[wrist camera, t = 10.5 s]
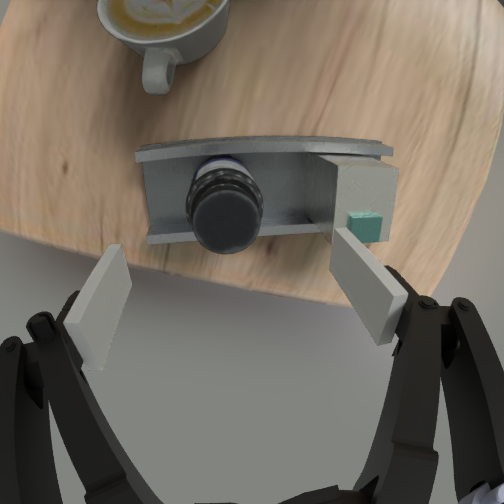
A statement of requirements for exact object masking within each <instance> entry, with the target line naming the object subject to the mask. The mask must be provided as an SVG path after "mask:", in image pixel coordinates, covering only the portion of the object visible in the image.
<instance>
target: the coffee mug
mask: <svg viewBox="0 0 504 504" xmlns="http://www.w3.org/2000/svg"><path fill="white" fill-rule="evenodd" d="M229 6H230V0H98V1H97V12H98V17H99V19H100V22H101V24H102V25H103V27H104V28H105V29H106V30H107V31H108V32H109V33H110V34H111V35H112V36H114V37H115V38H117V39H118V40H119V41H121V42H122V43H124V44H125V45H127V46H128V47H130V48H131V49H132V50H134V51H135V52H137V53H138V54H139V55H141V56H142V57H144V62H143V72H142V83H143V88H144V90H145V91H146V92H147V93H149V94H151V95H164V94H166V93H168V92H169V90H170V89H171V87H172V84H173V79H174V74H175V68H176V65H182V64H187V63H190V62H193V61H195V60H198V59H200V58H201V57H203V56H205V55H206V54H208V53H209V52H210V51H212V50H213V49H214V48H215V46H216V45H217V44H218V43H219V42H220V40H221V38H222V37H223V35H224V32H225V29H226V24H227V18H228V12H229Z"/></svg>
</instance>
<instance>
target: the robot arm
mask: <svg viewBox="0 0 504 504" xmlns="http://www.w3.org/2000/svg"><path fill="white" fill-rule="evenodd" d="M329 270H330V272H331V273H332V275H333V276H334V278H335V279H336V281H337V282H338V284H339V285H340V287H341V288H342V290H343V292H344V293H345V295H346V296H347V298H348V299H349V301H350V302H351V304H352V306H353V307H354V309H355V310H356V312H357V314H358V315H359V317H360V318H361V320H362V322H363V323H364V325H365V327H366V328H367V330H368V331H369V333H370V335H371V336H372V338H373V340H374V341H375V343H376V345H377V346H379V345H383V344H387V343H391V342H392V339H393V337H394V334H395V333H396V334H397V336H398V338H399V340H398V343H397V345H396V347H395V349H394V352H393V354H392V356H394V355H395V356H394V362H393V367H392V372H391V376H390V381H389V386H388V390H387V394H386V398H385V402H384V406H383V410H382V414H381V417H380V420H379V424H378V427H377V431H376V434H375V437H374V440H373V443H372V446H371V450H370V452H369V455H368V458H367V461H366V464H365V467H364V469H363V471H362V473H361V475H360V477H359V479H358V480H357V482H356V484H355V486H354V488H353V490H339V488H338V485H334V486H331V487H327V488H323V489H319V490H314V491H310V492H305V493H302V494H300V495H298V496H295V497H293V498H291V499H288V500H286V501H283V502H281V503H278V504H429V500H430V496H431V492H432V488H433V484H434V480H435V475H436V471H437V466H438V458H439V455H438V452H437V451H435V450H434V449H433V443H434V437H435V430H436V422H437V414H438V404H439V392H440V376H441V381H442V386H443V391H444V396H445V402H446V407H447V413H448V419H449V427H450V435H451V444H452V454H453V465H454V466H453V467H454V482H455V491H456V496H457V500H458V504H504V371H503V368H502V366H501V363H500V361H499V358H498V356H497V353H496V351H495V348H494V346H493V344H492V341H491V339H490V337H489V334H488V332H487V330H486V328H485V326H484V324H483V322H482V319H481V317H480V315H479V313H478V311H477V309H476V308H475V306H474V304H473V303H472V302H470V301H469V300H468V299H466V298H461V297H457V298H455V299H454V300H453V301H452V304H451V306H439V304H438V303H437V302H436V300H434V299H433V298H431V297H428V296H423V295H421V296H419V295H418V293H417V292H416V291H415V290H414V289H413V288H412V287H411V286H410V285H409V284H408V283H407V282H406V280H405V279H404V278H403V277H401V275H400V274H399V273H398V272H397V271H396V270H395V269H393V268H391V267H390V266H388V265H387V266H383V265H382V264H381V263H380V262H379V261H378V259H377V258H376V257H375V256H374V255H373V254H372V253H371V252H370V251H369V250H368V249H367V248H366V247H365V246H364V245H363V244H362V243H361V242H360V241H359V240H358V239H357V238H356V237H355V236H354V235H353V234H352V233H351V232H350V231H349V230H348V229H347V228H346V227H344V228H334V235H333V243H332V252H331V260H330V268H329ZM131 287H132V282H131V279H130V275H129V271H128V267H127V263H126V259H125V255H124V251H123V246H122V243H121V244H110V245H109V246H108V248H107V249H106V251H105V252H104V254H103V255H102V257H101V259H100V260H99V262H98V263H97V265H96V266H95V268H94V270H93V271H92V273H91V275H90V276H89V278H88V280H87V281H86V283H85V285H84V286H83V288H82V290H81V291H75V292H74V293H73V294H72V295H71V296H70V297H69V298H68V300H67V301H66V303H65V305H64V307H63V308H62V311H61V312H60V313H59V315H58V317H57V319H56V321H55V320H54V318H53V316H52V314H51V313H49V312H40V313H37V314H35V315H34V316H32V317H31V318H30V319H29V320H28V322H27V325H26V328H27V330H28V332H29V334H30V336H31V337H32V339H33V341H34V342H31V343H27V344H23V343H22V341H21V339H20V338H19V337H17V336H12V337H9V338H7V339H6V340H4V341H3V343H2V344H1V346H0V504H63V502H62V498H61V493H60V489H59V484H58V480H57V474H56V469H55V463H54V456H53V450H52V441H51V432H50V420H49V406H48V405H49V404H48V399H49V403H50V406H51V409H52V412H53V415H54V418H55V421H56V424H57V426H58V429H59V432H60V434H61V437H62V439H63V442H64V444H65V447H66V449H67V452H68V454H69V456H70V458H71V461H72V463H73V465H74V467H75V469H76V471H77V473H78V476H79V478H80V480H81V481H82V483H83V485H84V487H85V490H86V494H85V496H84V498H85V502H86V504H164V503H163V502H162V501H160V499H159V498H158V497H157V496H156V495H155V494H154V492H153V491H152V490H151V488H150V487H149V486H148V484H147V483H146V482H145V480H144V479H143V478H142V476H141V475H140V473H139V472H138V470H137V469H136V468H135V466H134V465H133V463H132V462H131V460H130V459H129V457H128V455H127V454H126V452H125V451H124V449H123V447H122V446H121V444H120V443H119V441H118V439H117V438H116V436H115V434H114V432H113V431H112V429H111V427H110V425H109V424H108V422H107V420H106V418H105V416H104V414H103V412H102V411H101V409H100V407H99V405H98V403H97V401H96V399H95V397H94V395H93V392H92V390H91V389H90V386H89V384H88V382H87V380H86V377H85V375H84V373H83V371H82V370H81V367H82V364H83V362H84V363H85V365H86V367H87V369H88V370H92V371H104V367H105V364H106V360H107V357H108V354H109V351H110V347H111V344H112V341H113V338H114V335H115V332H116V329H117V326H118V323H119V320H120V317H121V314H122V312H123V309H124V306H125V303H126V300H127V298H128V295H129V292H130V289H131ZM195 504H236V503H195Z"/></svg>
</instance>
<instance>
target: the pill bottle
mask: <svg viewBox="0 0 504 504" xmlns="http://www.w3.org/2000/svg"><path fill="white" fill-rule="evenodd" d="M263 208H264V204H263V197H262V194H261V192H260V189H259V188H258V186H257V185H256V183H255V181H254V180H253V178H252V176H251V175H250V173H249V171H248V170H247V168H246V167H245V166H244V165H243V164H242V163H241V162H239V161H238V160H236V159H234V158H231V157H226V156H220V157H214V158H210V159H208V160H207V161H205V162H204V163H203V164H201V166H200V167H199V168H198V169H197V170H196V172H195V174H194V176H193V179H192V182H191V185H190V189H189V192H188V195H187V198H186V205H185V210H186V217H187V220H188V223H189V225H190V226H191V228H192V229H193V232H194V234H195V237H196V238H197V240H198V241H199V242H200V244H201V245H203V246H204V247H205V248H207V249H208V250H210V251H212V252H215V253H219V254H233V253H236V252H239V251H242V250H244V249H245V248H247V247H248V246H249V245H250V244H252V242H253V241H254V240H255V239H256V237H257V235H258V233H259V230H260V226H261V218H262V216H263Z"/></svg>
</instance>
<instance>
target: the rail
mask: <svg viewBox="0 0 504 504" xmlns="http://www.w3.org/2000/svg"><path fill="white" fill-rule="evenodd" d="M134 154H135V163H137V162H142V165H143V174H144V182H145V190H146V197H147V204H148V211H149V217H150V223H151V227H150V229H149V231H148V233H147V235H146V237H147V242H148V245H150V244H162V243H174V242H187V241H198V240H197V238H196V237H195V234H194V232H193V229H192V228H191V226H190V225H189V223H188V220H187V217H186V210H185V205H186V198H187V195H188V192H189V189H190V185H191V182H192V179H193V176H194V174H195V172H196V170H197V169H198V168H199V167H200V166H201V164H203V163H204V162H205V161H207V160H208V159H210V158H214V157H220V156H226V157H231V158H234V159H236V160H238V161H239V162H241V163H242V164H243V165H244V166H245V167H246V168H247V170H248V171H249V173H250V175H251V176H252V178H253V180H254V181H255V183H256V185H257V186H258V188H259V189H260V192H261V194H262V197H263V204H264V208H263V216H262V218H261V226H260V230H259V233H258V235H257V236H269V235H284V234H299V233H315V232H321V233H322V234H323V235H324V237H325V238H326V239H327V240H328V241H329V243H330V244H331V245H332V243H333V235H334V228H344V227H346V228H347V229H348V230H349V231H350V232H351V233H352V234H353V235H354V236H355V237H356V238H357V239H358V240H359V241H360V242H361V243H371V242H382V241H388V239H389V234H390V228H391V222H392V217H393V210H394V204H395V197H396V189H397V181H398V173H399V168H396V167H394V166H392V165H389V164H387V163H384V162H382V161H380V159H381V155H383V156H393V147H390V146H387V145H384V144H382V142H381V141H376V140H365V139H353V138H339V137H318V136H242V137H222V138H207V139H194V140H183V141H174V142H165V143H157V144H149V145H143V146H141V149H140V150H138V151H136V152H134Z"/></svg>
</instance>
